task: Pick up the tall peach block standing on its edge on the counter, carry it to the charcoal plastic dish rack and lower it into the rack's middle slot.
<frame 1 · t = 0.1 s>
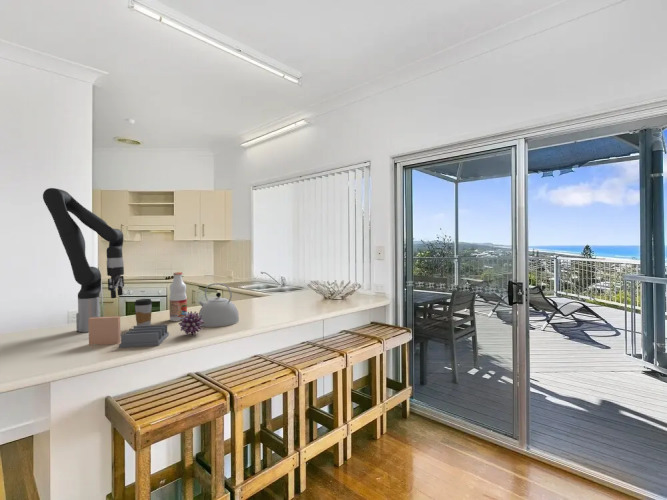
hand: (117, 296, 180), 17 cm above the table, tool pointing down, fingers open, 8 cm apart
coffee cup: (143, 327, 183), on the table
flower: (191, 335, 170), on the table
tall peach block: (105, 343, 155), on the table
fruit juice: (178, 319, 202), on the table
rack: (145, 341, 159), on the table
kettle: (217, 322, 197), on the table
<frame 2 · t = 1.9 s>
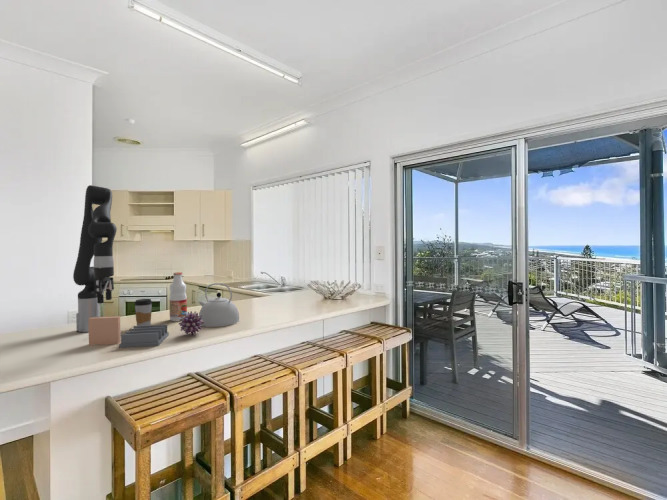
hand: (104, 301, 155), 19 cm above the table, tool pointing down, fingers open, 8 cm apart
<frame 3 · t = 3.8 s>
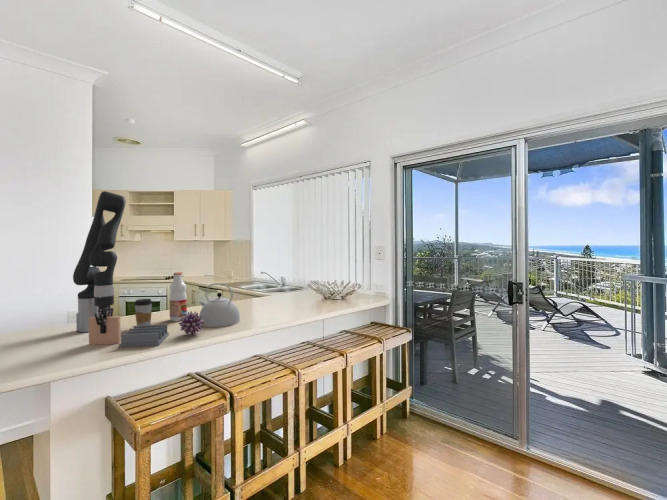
hand: (104, 332, 155), 5 cm above the table, tool pointing down, fingers closed on tall peach block, 2 cm apart
tall peach block: (105, 343, 155), on the table, touching gripper
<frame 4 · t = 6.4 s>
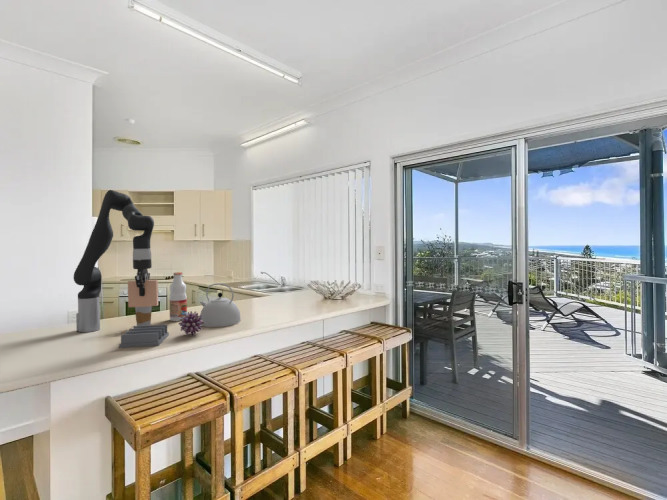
hand: (143, 295, 158), 22 cm above the table, tool pointing down, fingers closed on tall peach block, 2 cm apart
tall peach block: (143, 306, 158), point 16 cm above the table, touching gripper
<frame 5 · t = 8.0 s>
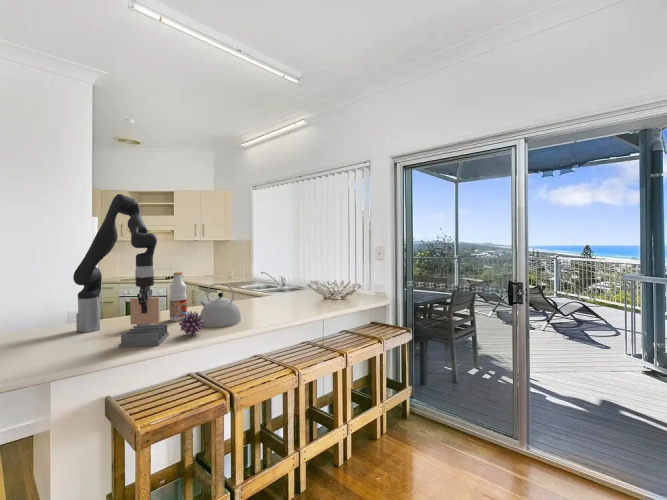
hand: (145, 312, 159), 13 cm above the table, tool pointing down, fingers closed on tall peach block, 2 cm apart
tall peach block: (145, 323, 159), point 8 cm above the table, touching gripper
when the fingers open (8 cm above the table, at t = 9.3 s): tall peach block drops 1 cm, resting on rack.
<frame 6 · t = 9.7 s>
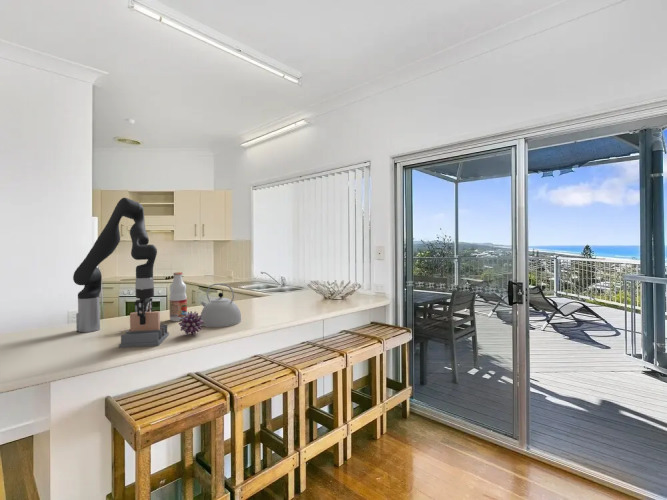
hand: (145, 322, 159), 9 cm above the table, tool pointing down, fingers open, 6 cm apart
tall peach block: (145, 337, 159), point 1 cm above the table, touching rack
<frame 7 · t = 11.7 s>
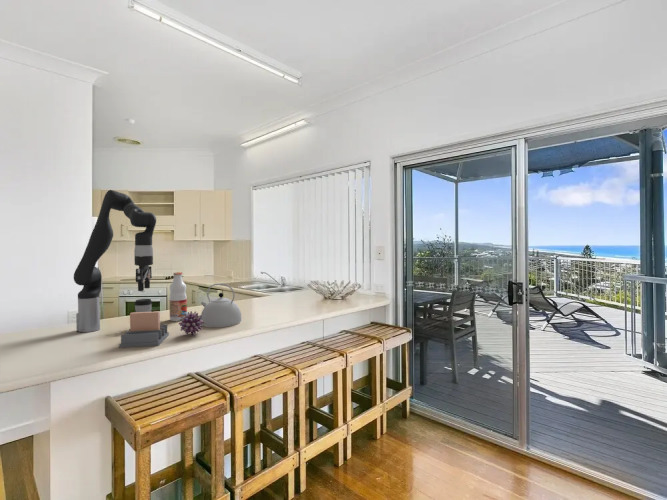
hand: (144, 289, 159), 24 cm above the table, tool pointing down, fingers open, 8 cm apart
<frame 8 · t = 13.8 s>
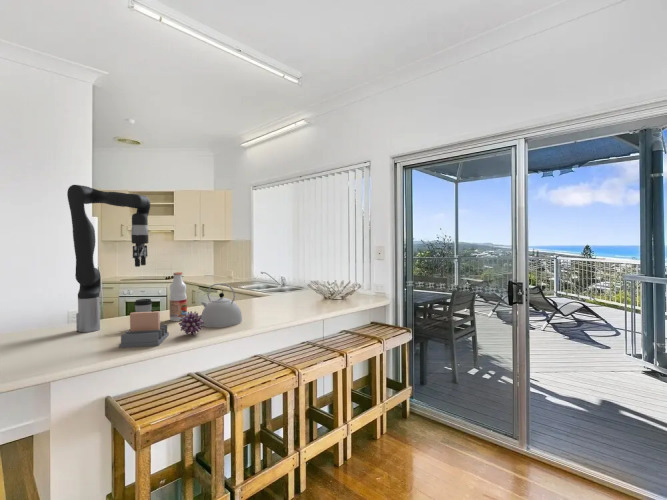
hand: (140, 266, 173), 34 cm above the table, tool pointing down, fingers open, 8 cm apart
at the end: tall peach block 0.0 cm off-centre on the rack, point 1.5 cm above the rack's base; tall peach block tilted 0°; the gripper is holding nothing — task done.
